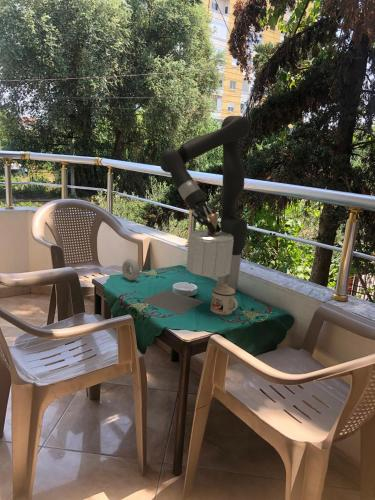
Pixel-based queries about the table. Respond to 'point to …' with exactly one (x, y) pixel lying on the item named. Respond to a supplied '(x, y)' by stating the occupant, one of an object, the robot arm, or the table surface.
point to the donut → (126, 269)
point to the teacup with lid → (223, 299)
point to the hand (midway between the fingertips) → (216, 231)
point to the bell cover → (210, 251)
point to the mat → (172, 302)
